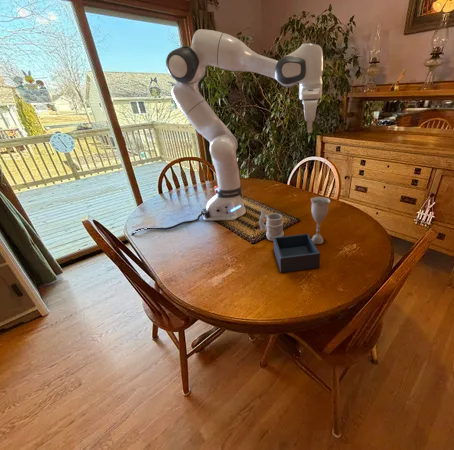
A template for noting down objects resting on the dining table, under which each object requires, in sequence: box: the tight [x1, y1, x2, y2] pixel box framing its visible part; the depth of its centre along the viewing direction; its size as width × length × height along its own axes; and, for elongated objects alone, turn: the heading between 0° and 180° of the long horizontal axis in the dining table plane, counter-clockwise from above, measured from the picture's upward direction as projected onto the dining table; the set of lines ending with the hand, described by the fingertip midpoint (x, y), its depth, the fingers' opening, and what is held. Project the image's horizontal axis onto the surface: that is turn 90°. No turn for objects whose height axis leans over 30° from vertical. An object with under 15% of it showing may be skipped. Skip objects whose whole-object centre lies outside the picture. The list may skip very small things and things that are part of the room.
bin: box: [272, 233, 321, 273], centre depth 86 cm, size 14×14×6 cm
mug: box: [258, 207, 285, 242], centre depth 99 cm, size 8×12×12 cm, turn 54°
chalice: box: [310, 196, 331, 245], centre depth 93 cm, size 7×7×18 cm
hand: (309, 131), depth 100 cm, fingers open, 8 cm apart
